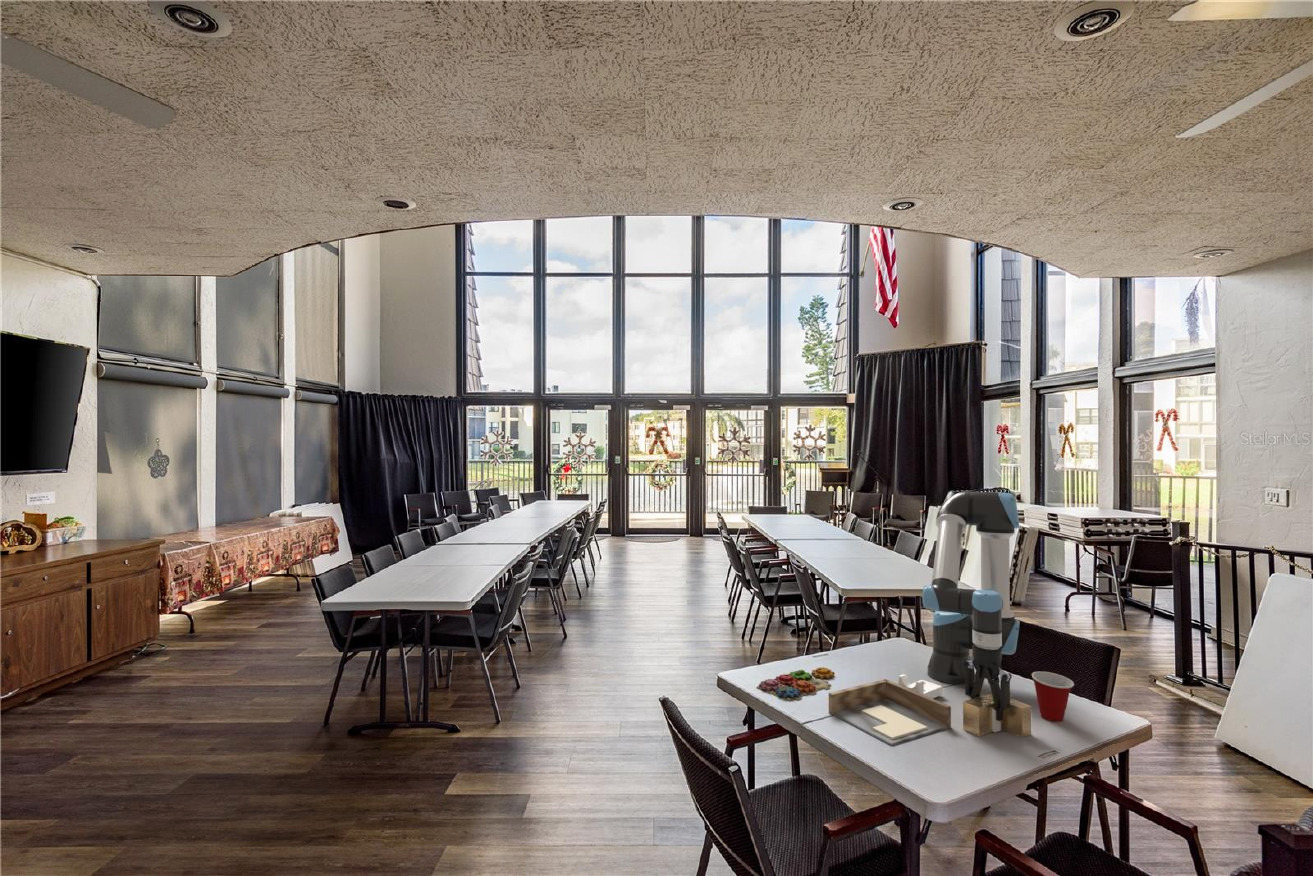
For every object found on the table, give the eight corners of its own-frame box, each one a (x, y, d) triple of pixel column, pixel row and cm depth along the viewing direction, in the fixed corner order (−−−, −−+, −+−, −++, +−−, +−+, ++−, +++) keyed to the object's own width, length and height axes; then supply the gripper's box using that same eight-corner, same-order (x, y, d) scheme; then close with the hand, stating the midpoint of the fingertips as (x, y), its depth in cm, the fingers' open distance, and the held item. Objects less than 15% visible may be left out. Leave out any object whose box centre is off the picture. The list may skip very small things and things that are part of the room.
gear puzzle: (814, 669, 234) (814, 657, 234) (851, 682, 222) (851, 670, 222) (754, 689, 216) (754, 677, 216) (791, 705, 203) (791, 692, 203)
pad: (880, 707, 198) (880, 705, 198) (927, 729, 183) (927, 727, 183) (846, 716, 192) (846, 714, 192) (892, 739, 177) (892, 737, 177)
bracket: (918, 707, 200) (918, 682, 200) (898, 699, 206) (898, 676, 206) (942, 697, 208) (942, 674, 208) (922, 690, 214) (922, 667, 214)
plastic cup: (1063, 729, 184) (1063, 687, 184) (1024, 716, 193) (1024, 676, 193) (1081, 720, 190) (1081, 679, 190) (1042, 707, 199) (1042, 668, 199)
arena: (885, 698, 207) (885, 679, 207) (950, 727, 186) (950, 706, 186) (828, 712, 196) (828, 692, 196) (891, 745, 174) (891, 723, 174)
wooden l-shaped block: (994, 719, 191) (994, 692, 191) (1031, 734, 181) (1031, 705, 181) (963, 729, 184) (963, 701, 184) (999, 745, 175) (999, 715, 175)
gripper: (950, 639, 192) (950, 717, 192) (1008, 657, 176) (1008, 742, 176) (967, 635, 195) (967, 712, 195) (1025, 652, 179) (1025, 736, 179)
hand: (987, 726), depth 185 cm, fingers closed on wooden l-shaped block, 5 cm apart
